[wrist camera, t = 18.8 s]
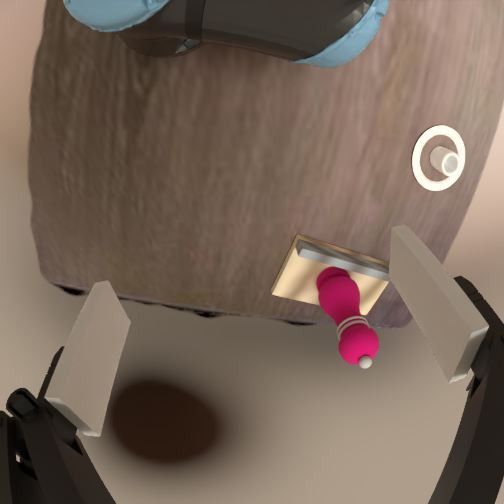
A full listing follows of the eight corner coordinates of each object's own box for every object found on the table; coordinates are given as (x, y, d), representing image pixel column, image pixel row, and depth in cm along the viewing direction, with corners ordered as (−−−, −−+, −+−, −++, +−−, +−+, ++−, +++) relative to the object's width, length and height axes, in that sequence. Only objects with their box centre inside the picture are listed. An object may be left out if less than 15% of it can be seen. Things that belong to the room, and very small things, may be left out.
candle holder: (468, 173, 48) (481, 181, 45) (420, 200, 51) (432, 210, 47) (453, 114, 42) (468, 120, 39) (401, 140, 45) (414, 147, 41)
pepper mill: (358, 269, 56) (401, 352, 39) (339, 299, 59) (372, 383, 42) (324, 258, 54) (361, 346, 37) (306, 290, 57) (332, 380, 40)
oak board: (271, 289, 59) (273, 305, 55) (297, 234, 53) (302, 248, 49) (364, 310, 63) (370, 325, 59) (393, 264, 57) (403, 278, 54)
